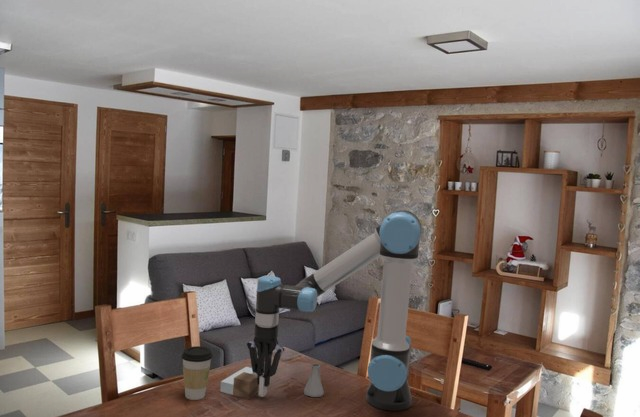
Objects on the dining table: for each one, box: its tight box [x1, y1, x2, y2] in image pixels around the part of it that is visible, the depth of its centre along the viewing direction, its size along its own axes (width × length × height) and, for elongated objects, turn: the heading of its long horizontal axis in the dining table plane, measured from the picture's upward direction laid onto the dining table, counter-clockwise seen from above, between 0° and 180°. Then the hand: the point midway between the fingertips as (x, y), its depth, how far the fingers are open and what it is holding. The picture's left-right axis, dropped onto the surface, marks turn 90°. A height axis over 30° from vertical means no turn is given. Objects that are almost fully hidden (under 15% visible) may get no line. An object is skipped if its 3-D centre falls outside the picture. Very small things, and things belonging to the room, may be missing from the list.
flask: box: [303, 362, 325, 398], centre depth 183 cm, size 7×7×10 cm
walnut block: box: [232, 372, 259, 400], centre depth 179 cm, size 6×6×6 cm
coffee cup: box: [181, 345, 213, 401], centre depth 174 cm, size 10×10×15 cm
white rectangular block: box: [219, 366, 257, 396], centre depth 185 cm, size 5×16×4 cm, turn 156°
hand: (262, 394), depth 176 cm, fingers closed
